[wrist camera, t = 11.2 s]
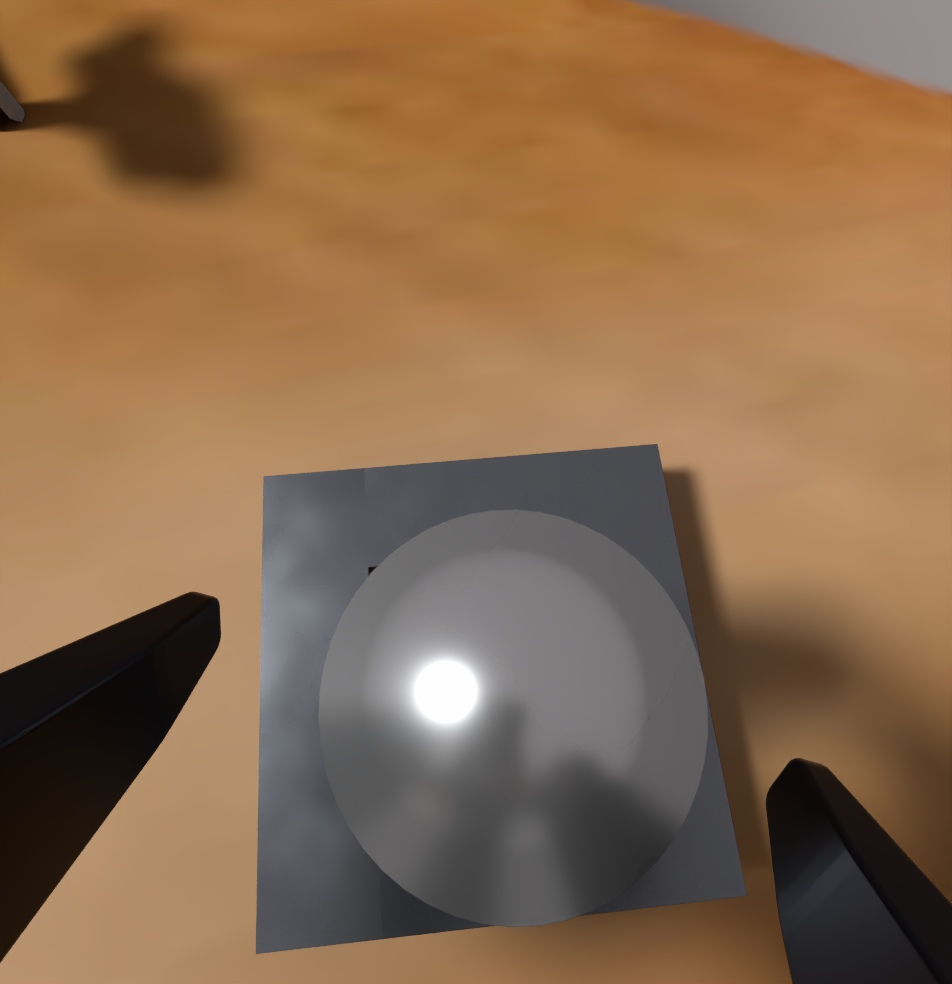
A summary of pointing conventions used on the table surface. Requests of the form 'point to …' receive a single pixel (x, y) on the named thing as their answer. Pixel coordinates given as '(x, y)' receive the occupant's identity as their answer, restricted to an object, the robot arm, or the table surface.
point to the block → (312, 623)
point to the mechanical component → (10, 104)
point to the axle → (513, 718)
